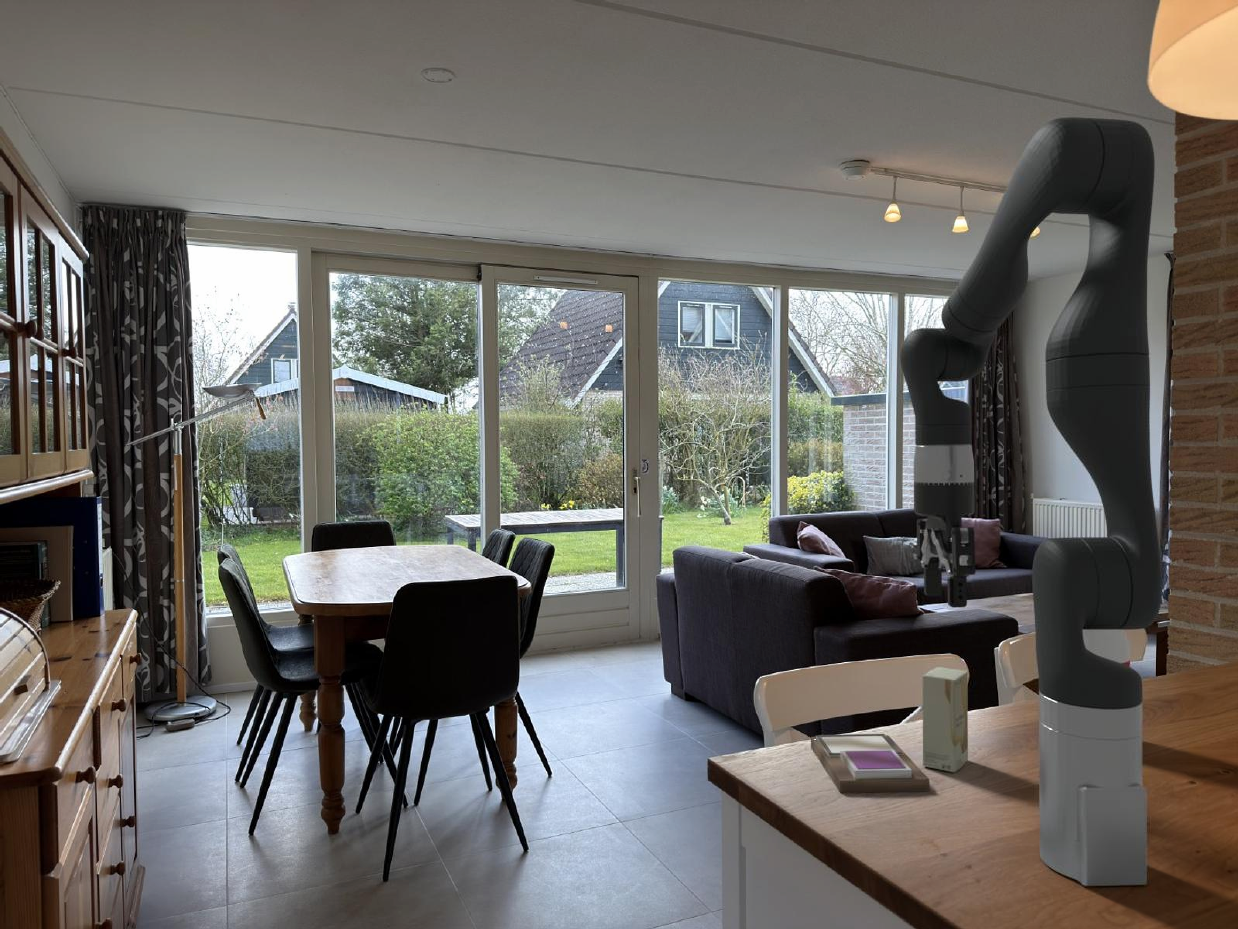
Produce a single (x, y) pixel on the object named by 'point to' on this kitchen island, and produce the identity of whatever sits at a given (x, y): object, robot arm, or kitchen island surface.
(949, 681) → the skincare box
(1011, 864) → the kitchen island surface
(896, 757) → the stamping board
